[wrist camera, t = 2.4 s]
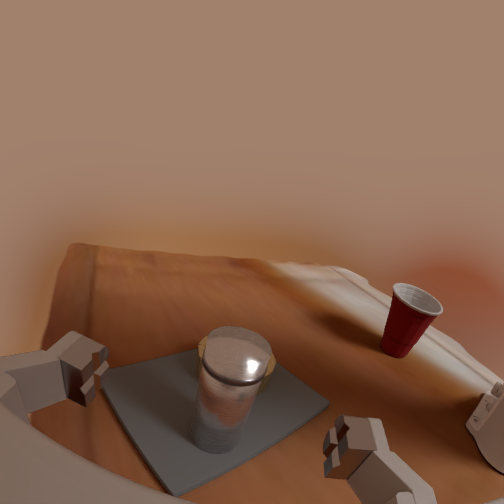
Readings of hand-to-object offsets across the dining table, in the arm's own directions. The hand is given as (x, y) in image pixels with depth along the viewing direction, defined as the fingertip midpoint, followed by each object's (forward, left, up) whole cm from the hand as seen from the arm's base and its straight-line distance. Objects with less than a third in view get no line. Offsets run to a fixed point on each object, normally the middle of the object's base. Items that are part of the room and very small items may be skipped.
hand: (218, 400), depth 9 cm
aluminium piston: (-10, -8, -18) cm, 22 cm away
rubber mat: (-14, -12, -19) cm, 26 cm away
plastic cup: (-50, -4, -19) cm, 53 cm away
